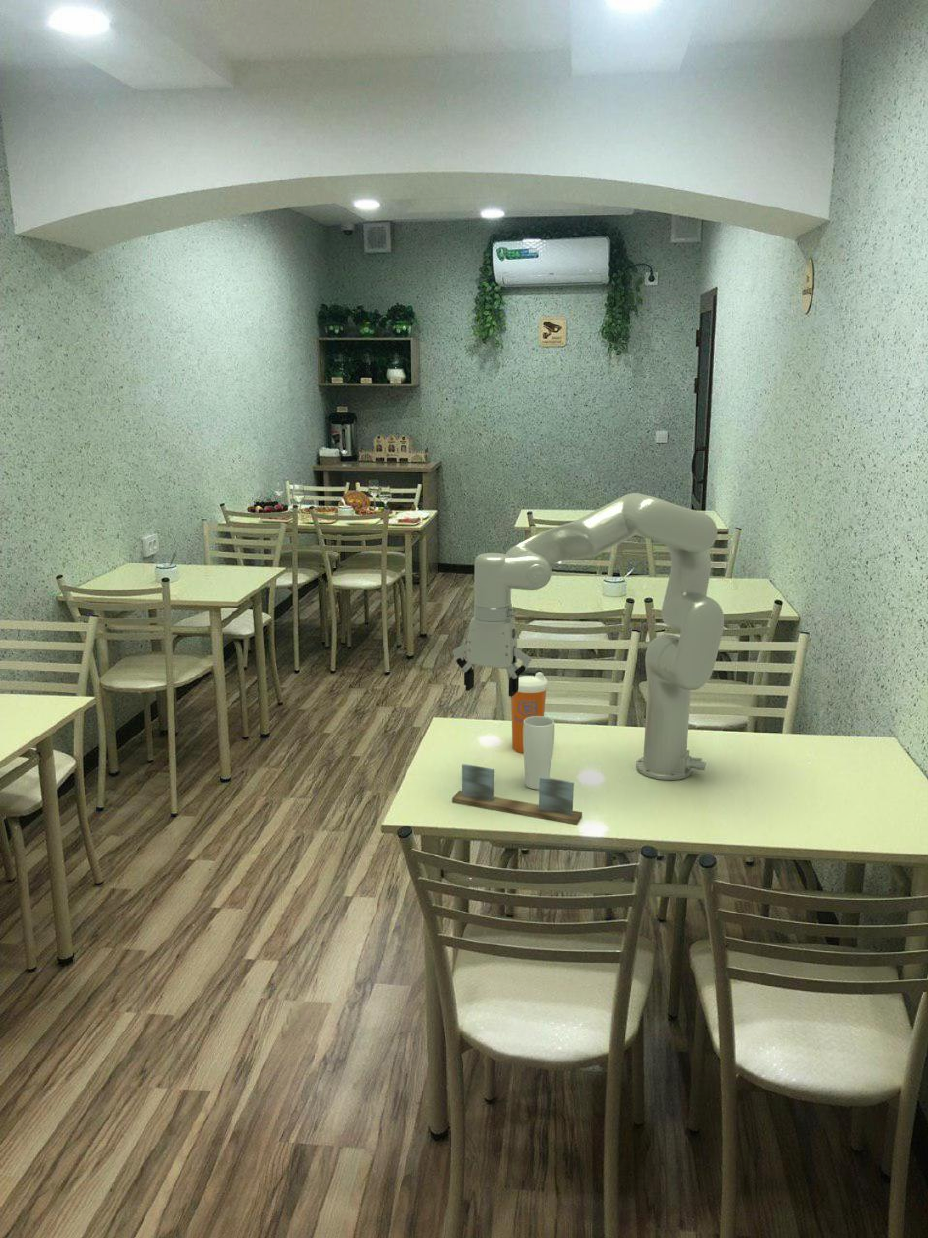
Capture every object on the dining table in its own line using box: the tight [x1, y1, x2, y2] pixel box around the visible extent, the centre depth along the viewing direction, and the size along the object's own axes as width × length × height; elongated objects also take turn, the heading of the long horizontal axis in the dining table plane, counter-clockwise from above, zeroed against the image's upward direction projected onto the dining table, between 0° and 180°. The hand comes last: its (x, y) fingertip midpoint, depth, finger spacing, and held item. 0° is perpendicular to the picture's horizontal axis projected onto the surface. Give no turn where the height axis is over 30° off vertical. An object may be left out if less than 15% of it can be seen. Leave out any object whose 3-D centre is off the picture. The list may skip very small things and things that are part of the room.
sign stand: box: [451, 763, 583, 826], centre depth 193 cm, size 27×4×8 cm, turn 68°
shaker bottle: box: [510, 667, 548, 755], centre depth 225 cm, size 9×9×20 cm
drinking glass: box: [523, 716, 555, 791], centre depth 204 cm, size 7×7×15 cm
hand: (490, 691), depth 198 cm, fingers open, 9 cm apart
